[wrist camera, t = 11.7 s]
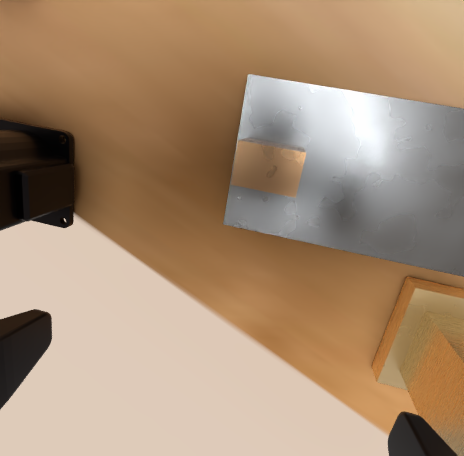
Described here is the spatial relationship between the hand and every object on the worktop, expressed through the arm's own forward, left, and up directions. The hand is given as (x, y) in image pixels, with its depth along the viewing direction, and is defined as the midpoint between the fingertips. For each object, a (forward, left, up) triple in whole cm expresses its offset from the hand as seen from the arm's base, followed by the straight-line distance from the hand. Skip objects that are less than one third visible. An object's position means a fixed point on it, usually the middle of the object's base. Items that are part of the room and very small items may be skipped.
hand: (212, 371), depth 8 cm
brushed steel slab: (+6, +4, -13) cm, 15 cm away
